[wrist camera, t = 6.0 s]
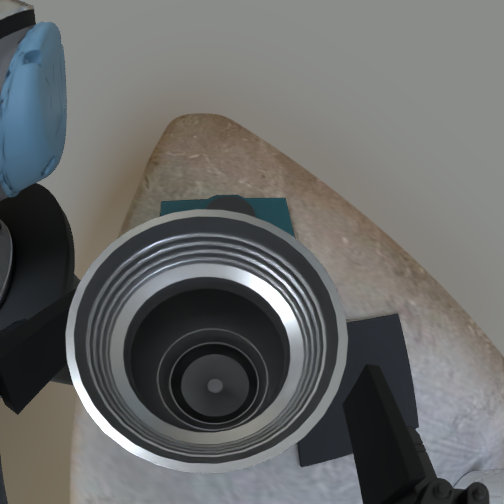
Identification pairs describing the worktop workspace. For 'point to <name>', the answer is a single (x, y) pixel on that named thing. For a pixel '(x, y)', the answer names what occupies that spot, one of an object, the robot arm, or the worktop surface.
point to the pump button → (231, 205)
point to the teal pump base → (263, 207)
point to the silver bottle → (206, 341)
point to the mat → (358, 355)
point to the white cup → (486, 483)
